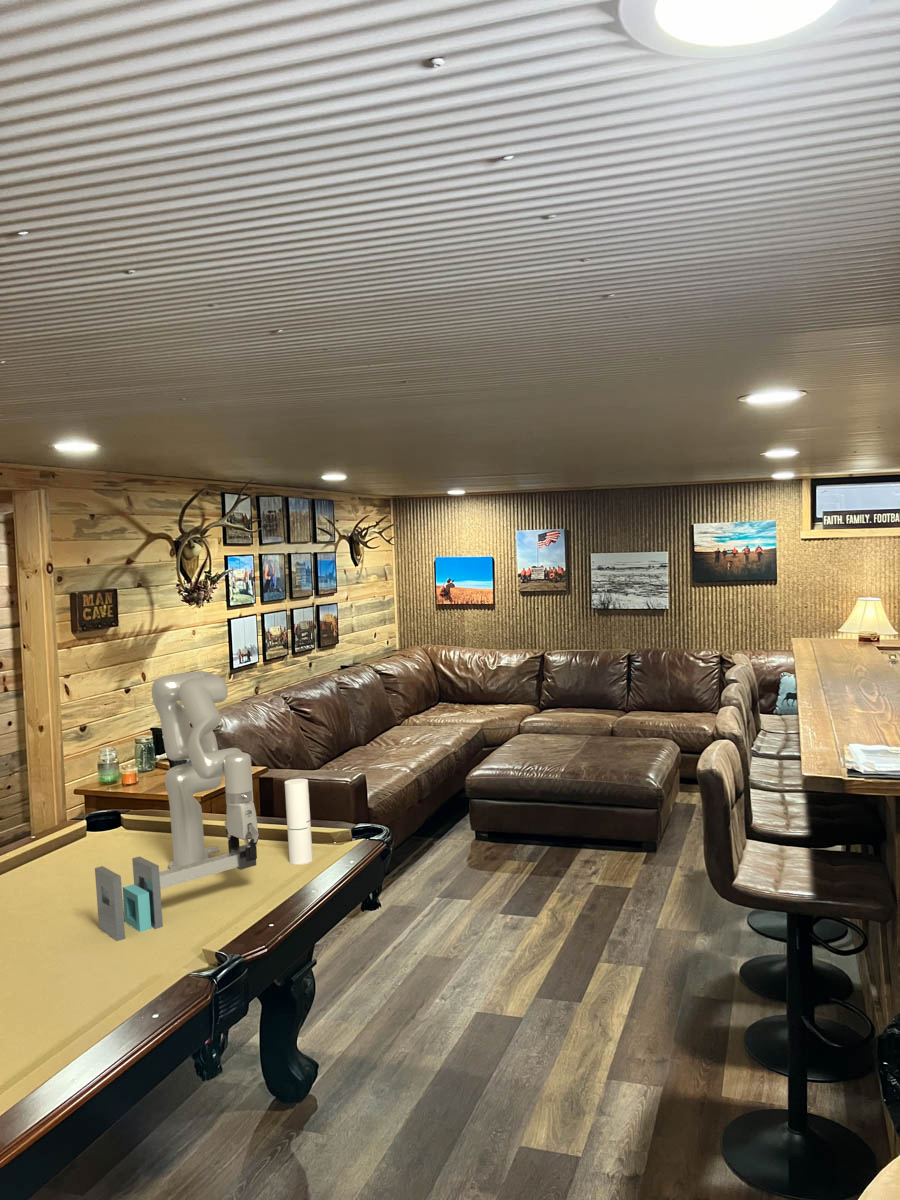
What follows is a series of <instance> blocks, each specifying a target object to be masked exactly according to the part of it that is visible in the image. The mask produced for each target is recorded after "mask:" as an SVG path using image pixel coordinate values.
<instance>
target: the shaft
mask: <svg viewBox="0 0 900 1200" xmlns="http://www.w3.org/2000/svg"><path fill="white" fill-rule="evenodd" d="M245 847H247V846H246V844H244V845H243V844H242V845H239V847H235V848H232V849H231V852H230V853H229V852H228V853H223V854H219V855H216V856H213V857H210V858H208V859H205V860H201V861H197V862H194V863H190V864H187V865H183V866H179V867H176V868H172V869H170V868H169V869H165V870H161V871H159V876H160V891H161V890H164V889H167V888H171V887H173V886H177V885H181V884H183V883H184V884H185V883H187V882H190V881H195V880H197V879H201V878H205V877H208V876H211V875H216V874H219V873H222V872H225V871H229V870H232V869H238V870H240V871H242V870H245V869H249V868H251V867H255V866H257V859H256V860H252V861H249V862H247V861H246V853H245ZM144 890H146V891H147V880H146V879H144Z"/></svg>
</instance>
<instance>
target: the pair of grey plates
mask: <svg viewBox="0 0 900 1200" xmlns="http://www.w3.org/2000/svg"><path fill="white" fill-rule="evenodd" d="M131 862H132V874H133V884H134V885H136V886H138V887H140V888H142V889H144V879H146V880H147V892H149V902H150V917H151V928H153V929H155V930H157V929H160V928H163V927H164V921H163V920H164V919H163V907H162V895H161V894H162V893H161V890H160V876H159V872H160V866H159V865H158V864H156V863H154V862H153V861H150V860H148V859H146V858H144V857H141V856H136V857H132V861H131ZM94 874H95V877H94V878H95V889H96V890H95V891H96V892H95V893H96V903H97V904H96V905H97V915H98V916H97V917H98V918H97V921H98V929H99V930H100V929H101V930H100V931H102V932H103V933H104V934H106V935H108V937H110V938H112V939H114V940H115V941H117V942H119V941H122V940H125V939H126V931H125V930H126V929H125V914H124V900H123V885H122V876H121V875H120V874H118V873H116V872H115V871H113V870H110V869H109V868H107V867H105V866H102V865H101V866H96V867H94ZM145 891H146V890H145Z"/></svg>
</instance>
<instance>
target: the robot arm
mask: <svg viewBox="0 0 900 1200" xmlns="http://www.w3.org/2000/svg"><path fill="white" fill-rule="evenodd" d="M228 690H229V689H228V687H227V684H226V682H225V679H224V678H222V677H221V676H219V675H217V674H215V673H211V672H208V671H203V670H200V671H199V670H197V671H187V672H181V673H174V674H173V673H172V674H167V675H163V676H160V677H158V678H156V679H155V680H154V681H153V683H152V686H151V698H152V703H153V704H154V708H155V710H156V712H157V714H158V717H159V719H160V720H159V721H160V725H161V731H162V739H163V747H164V750H165V754H166V757H167V758H168V760H170V761H174V762H175V761H185V760H190V762H188V763H183V764H179V765H175V766H173V767H171V768H169V769H168V770H167V771H166V772H165V775H164V785H165V788H166V789H165V790H166V792H167V797H168V798H167V799H168V803H169V804H168V805H169V812H170V813H169V814H170V828H171V845H172V855H173V856H172V857H173V859H172V860H171V861H169V862H168V868H169V869H172V868H176V867H179V866H183V865H187V864H190V863H194V862H197V861H201V860H205V859H208V858H211V857H210V856H211V855H213V854H218V853H219V852H220V847H219V846H218V845H217V846H214V847H212V846H207V847H206V846H205V835H204V822H203V821H204V820H203V809H202V805H201V803H200V802H199V801H198V800H197V799H196V798H195V797H194V795H195V794H197V793H202V792H207V791H211V790H215V789H217V788H218V787H220V785H221V784H222V780H223V777H224V789H225V790H224V791H225V804H226V820H225V821H224V826H225V827H224V828H225V832H226V834H227V835H226V838H227V840H228V841H227V845H228V853H230V852H231V849H232V848H235V847H239V846H240V839H241V840H243V841H244V845H246V846H247V847H245V853H246V861H247V862H249V861H252V860H256V861H257V859H258V853H257V846H258V842H259V830H258V820H257V819H258V818H257V812H256V807H255V803H254V792H253V791H254V790H253V787H254V786H253V773H252V772H253V771H252V769H253V768H252V758H251V757H252V756H251V754H249V753H248V752H243V751H242V749H239V748H238V747H229V748H223V749H219V747H218V741H217V737H216V735H215V732H214V730H215V729H216V728H217V727H219V725H220V723H221V721H222V716H221V714H220V712H219V710H218V708H217V706H216V704H219V703H220V704H221V703H223V702H224V701H226V700H227V698H228V693H229V691H228ZM179 702H181V704H182V705H181V704H180V703H179ZM190 723H191V724H190ZM191 726H192V727H191Z"/></svg>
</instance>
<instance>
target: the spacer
mask: <svg viewBox="0 0 900 1200" xmlns="http://www.w3.org/2000/svg"><path fill="white" fill-rule="evenodd" d="M122 900H123V914H124V923H125V922H126V923H127V925H128V924H129V925H128V926H130V927H131V926H132V928H133V929H134V930H136V931H137V932H139V933H141V932H145V931H148V930H152V926H151V917H150V902H149V892H147V891H145V890H144V889H142V888H140V887H138V886H136V885H134V883H132V884H129V885H126V886H122ZM126 923H125V924H126Z"/></svg>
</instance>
